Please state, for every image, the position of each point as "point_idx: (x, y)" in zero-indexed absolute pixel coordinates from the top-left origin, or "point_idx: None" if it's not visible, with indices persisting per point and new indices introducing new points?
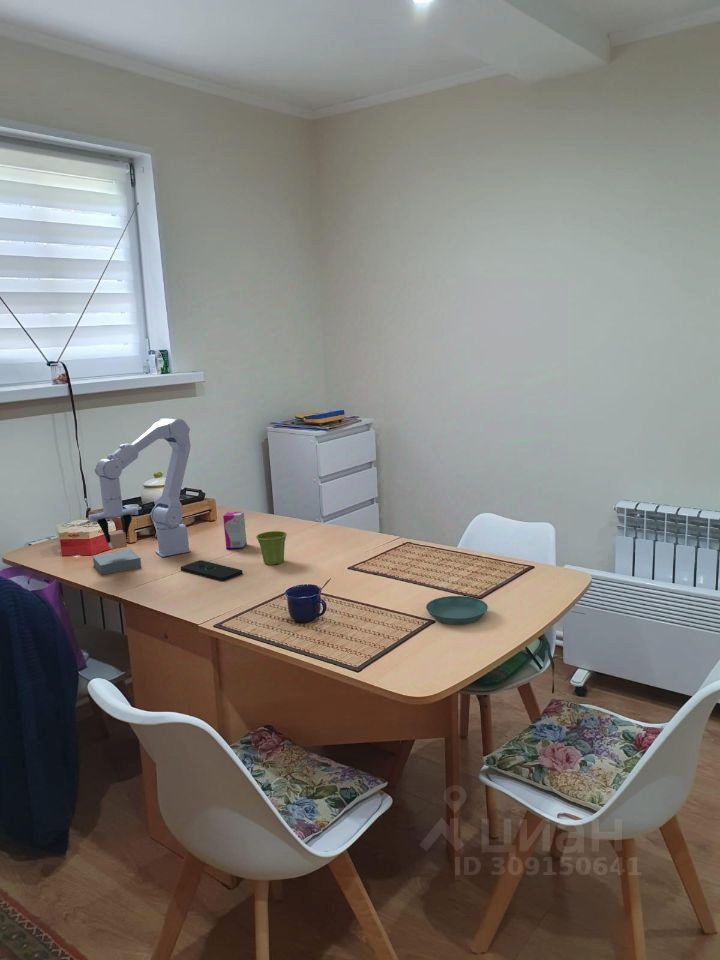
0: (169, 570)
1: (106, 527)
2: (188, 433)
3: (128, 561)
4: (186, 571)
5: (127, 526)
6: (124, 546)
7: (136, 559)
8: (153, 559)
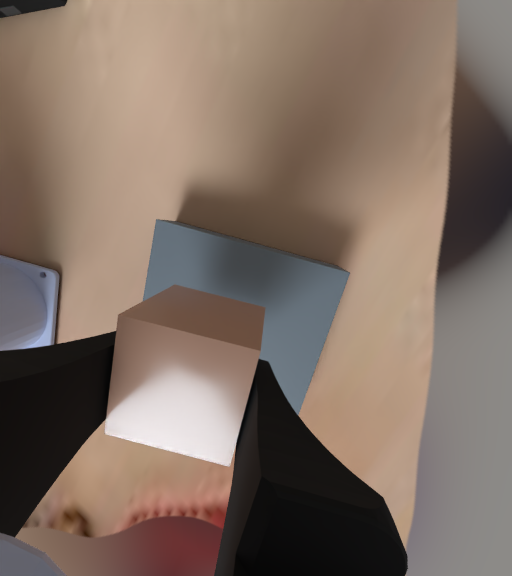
0: (108, 52)
1: (280, 440)
2: None
3: (216, 236)
4: None
5: (36, 352)
6: (188, 288)
7: (177, 224)
8: (96, 279)
